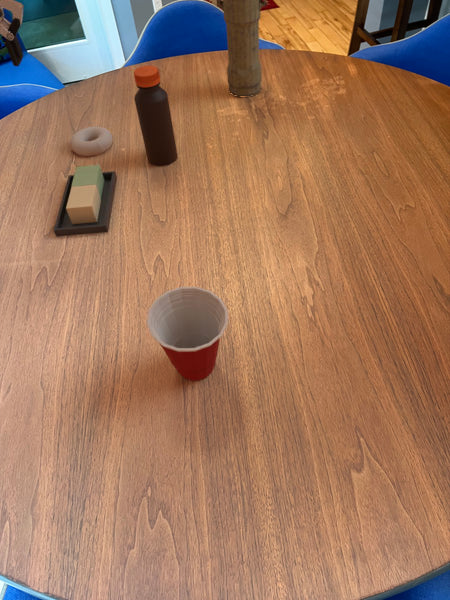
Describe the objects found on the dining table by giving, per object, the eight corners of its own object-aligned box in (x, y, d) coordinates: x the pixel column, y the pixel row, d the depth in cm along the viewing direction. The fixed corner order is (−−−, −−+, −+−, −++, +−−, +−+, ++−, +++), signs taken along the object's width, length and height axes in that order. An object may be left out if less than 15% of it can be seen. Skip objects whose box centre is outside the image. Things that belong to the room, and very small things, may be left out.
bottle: (149, 170, 106) (130, 81, 91) (146, 154, 111) (127, 66, 96) (179, 165, 107) (165, 75, 92) (175, 149, 111) (160, 60, 96)
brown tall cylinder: (222, 83, 131) (211, -76, 105) (266, 80, 131) (265, -80, 104) (222, 99, 125) (209, -65, 99) (267, 96, 125) (267, -70, 98)
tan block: (72, 224, 95) (65, 208, 92) (77, 202, 100) (71, 186, 97) (97, 222, 95) (91, 205, 92) (101, 200, 99) (96, 184, 96)
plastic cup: (226, 401, 68) (220, 353, 59) (153, 392, 69) (136, 344, 60) (238, 339, 75) (234, 287, 65) (171, 332, 76) (158, 281, 67)
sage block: (77, 202, 100) (71, 186, 97) (81, 182, 104) (76, 166, 101) (100, 200, 100) (95, 184, 96) (104, 180, 104) (99, 164, 101)
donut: (93, 133, 119) (63, 152, 114) (90, 119, 116) (59, 138, 111) (123, 143, 115) (93, 163, 110) (119, 130, 112) (89, 150, 107)
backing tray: (56, 238, 93) (53, 230, 92) (71, 183, 105) (68, 175, 104) (108, 234, 93) (105, 225, 92) (117, 179, 105) (115, 170, 103)
